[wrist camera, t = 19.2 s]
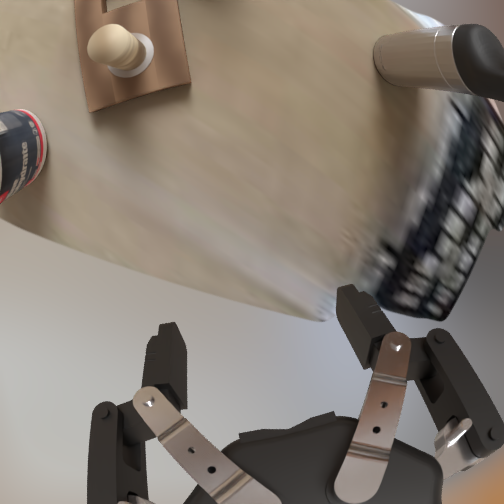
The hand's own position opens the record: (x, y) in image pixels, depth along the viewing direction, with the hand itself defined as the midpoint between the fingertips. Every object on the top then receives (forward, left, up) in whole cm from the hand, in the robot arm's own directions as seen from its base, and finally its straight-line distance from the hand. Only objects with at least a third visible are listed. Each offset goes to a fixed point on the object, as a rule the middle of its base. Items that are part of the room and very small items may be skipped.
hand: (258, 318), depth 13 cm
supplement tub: (+31, -13, -30) cm, 45 cm away
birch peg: (+9, -19, -27) cm, 34 cm away
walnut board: (+9, -25, -30) cm, 40 cm away
